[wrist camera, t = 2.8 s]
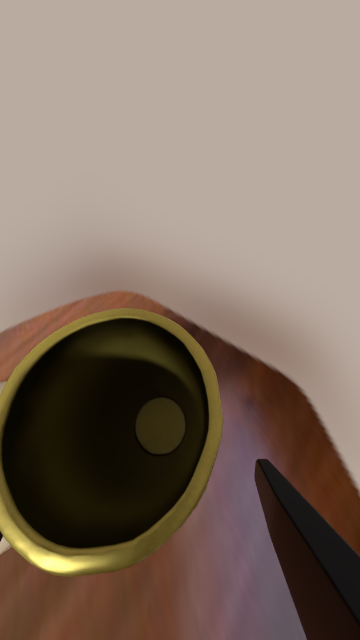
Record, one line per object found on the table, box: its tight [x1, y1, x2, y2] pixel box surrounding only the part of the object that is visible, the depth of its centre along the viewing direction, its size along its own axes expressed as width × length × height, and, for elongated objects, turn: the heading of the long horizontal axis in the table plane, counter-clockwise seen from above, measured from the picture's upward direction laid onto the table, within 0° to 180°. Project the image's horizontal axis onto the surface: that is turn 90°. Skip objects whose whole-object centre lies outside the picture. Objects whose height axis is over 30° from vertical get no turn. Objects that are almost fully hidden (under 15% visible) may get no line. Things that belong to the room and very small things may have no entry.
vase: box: [0, 308, 223, 577], centre depth 10 cm, size 6×6×14 cm
